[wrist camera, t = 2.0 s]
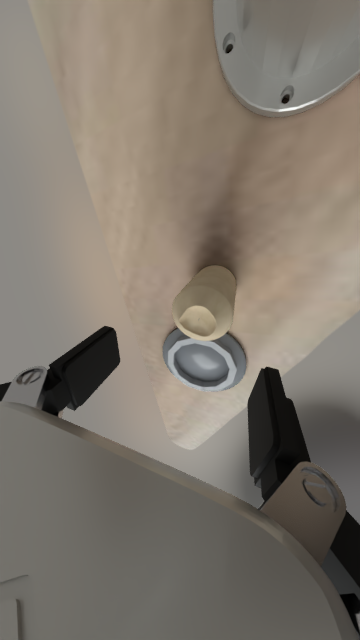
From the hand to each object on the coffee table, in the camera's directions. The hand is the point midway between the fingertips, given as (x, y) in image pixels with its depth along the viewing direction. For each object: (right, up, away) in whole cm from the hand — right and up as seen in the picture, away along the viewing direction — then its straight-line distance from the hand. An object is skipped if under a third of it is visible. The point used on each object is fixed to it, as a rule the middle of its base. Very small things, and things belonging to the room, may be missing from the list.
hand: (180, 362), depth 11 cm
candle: (+5, +7, +12) cm, 14 cm away
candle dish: (+4, -4, +18) cm, 19 cm away
